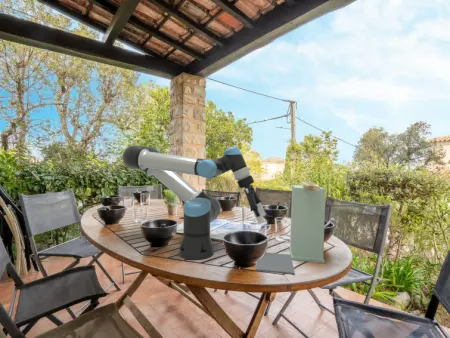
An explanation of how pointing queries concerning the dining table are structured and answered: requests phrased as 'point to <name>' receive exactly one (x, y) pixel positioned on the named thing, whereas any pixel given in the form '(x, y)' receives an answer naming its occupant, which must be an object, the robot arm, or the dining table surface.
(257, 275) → the dining table surface
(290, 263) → the mat
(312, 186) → the block
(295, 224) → the stand
